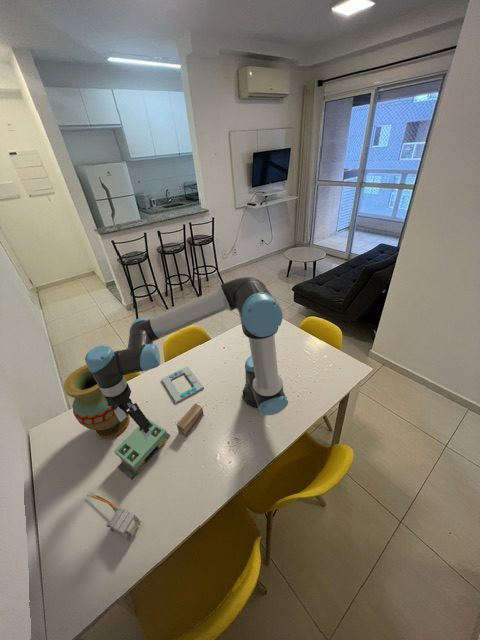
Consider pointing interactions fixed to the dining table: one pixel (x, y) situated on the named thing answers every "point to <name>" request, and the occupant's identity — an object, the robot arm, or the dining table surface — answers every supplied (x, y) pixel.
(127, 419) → the vase
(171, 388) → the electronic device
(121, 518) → the electrical component
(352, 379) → the dining table surface
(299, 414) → the dining table surface
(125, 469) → the chassis
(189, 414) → the brown rectangular block
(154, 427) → the board
